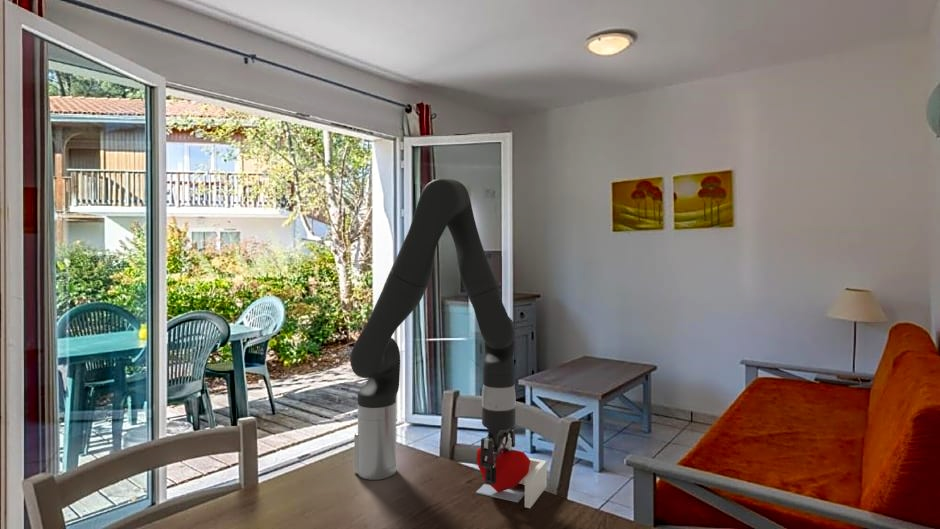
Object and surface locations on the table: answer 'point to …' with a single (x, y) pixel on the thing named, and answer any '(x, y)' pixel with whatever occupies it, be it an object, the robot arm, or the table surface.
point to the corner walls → (534, 481)
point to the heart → (507, 469)
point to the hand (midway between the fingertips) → (498, 475)
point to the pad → (501, 493)
